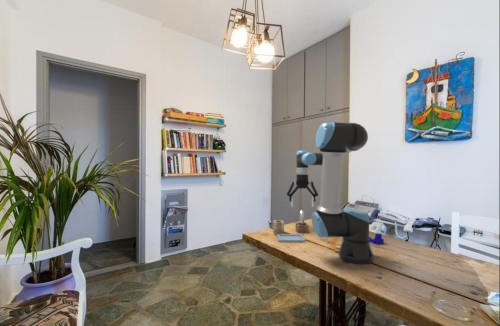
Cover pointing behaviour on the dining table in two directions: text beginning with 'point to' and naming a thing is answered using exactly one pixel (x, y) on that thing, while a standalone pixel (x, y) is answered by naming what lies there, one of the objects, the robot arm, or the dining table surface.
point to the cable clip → (377, 239)
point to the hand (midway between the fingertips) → (302, 206)
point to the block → (278, 227)
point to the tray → (290, 238)
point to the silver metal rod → (301, 217)
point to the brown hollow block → (302, 228)
